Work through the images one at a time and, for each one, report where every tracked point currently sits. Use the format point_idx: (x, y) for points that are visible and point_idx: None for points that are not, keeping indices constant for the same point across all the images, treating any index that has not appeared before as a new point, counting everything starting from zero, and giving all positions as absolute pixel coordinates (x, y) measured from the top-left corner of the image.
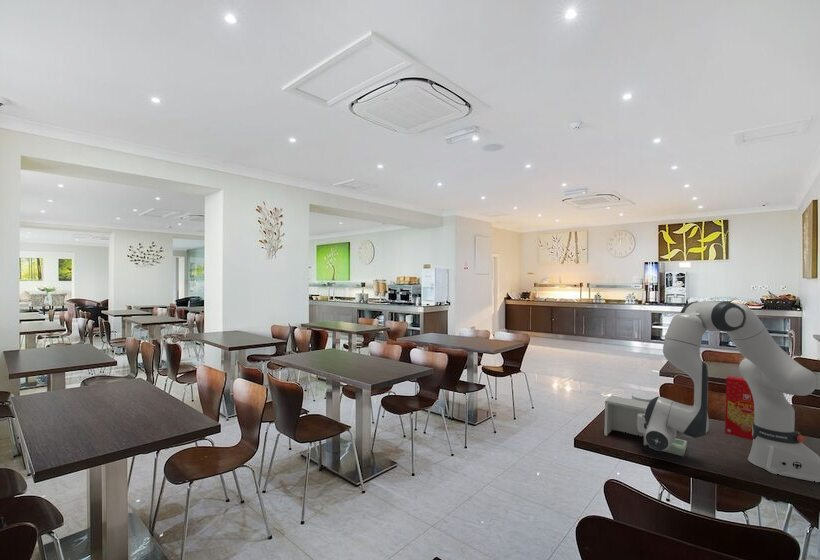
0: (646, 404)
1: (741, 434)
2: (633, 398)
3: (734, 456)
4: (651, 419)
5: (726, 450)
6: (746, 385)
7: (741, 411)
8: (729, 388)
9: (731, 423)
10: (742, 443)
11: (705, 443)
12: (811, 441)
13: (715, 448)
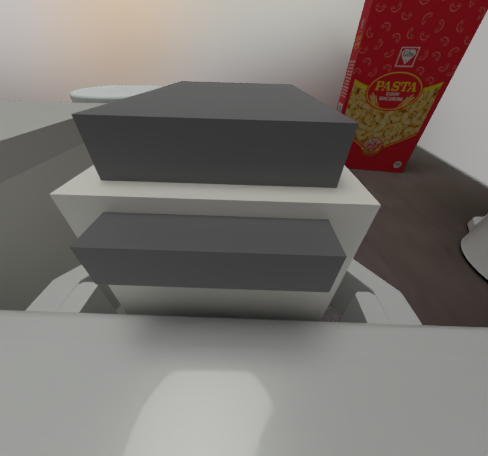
0: (33, 119)
1: (357, 162)
2: None
3: (439, 274)
4: None
5: (389, 240)
6: (423, 10)
7: (377, 106)
8: (371, 35)
9: None
10: (376, 188)
11: None
12: (419, 147)
13: (363, 243)
